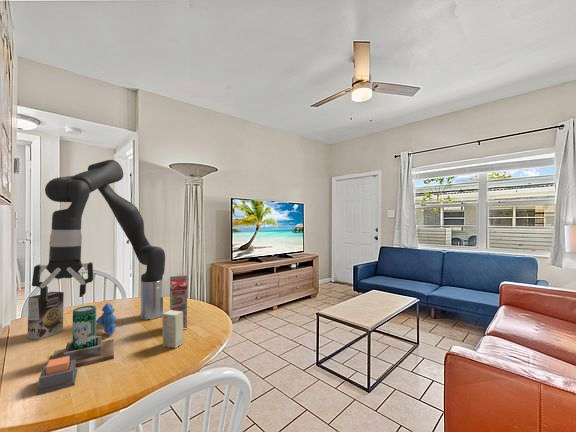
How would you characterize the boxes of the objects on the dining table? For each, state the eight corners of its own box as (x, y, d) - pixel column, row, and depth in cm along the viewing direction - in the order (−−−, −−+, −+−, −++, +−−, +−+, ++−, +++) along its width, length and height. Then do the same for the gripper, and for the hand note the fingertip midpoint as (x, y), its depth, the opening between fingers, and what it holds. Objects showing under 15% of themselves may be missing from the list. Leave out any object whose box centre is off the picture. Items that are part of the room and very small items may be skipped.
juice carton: (169, 325, 120) (170, 275, 120) (185, 323, 122) (186, 274, 122) (169, 331, 114) (170, 278, 114) (186, 329, 116) (187, 277, 116)
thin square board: (113, 342, 103) (113, 331, 103) (113, 358, 92) (113, 346, 92) (54, 354, 94) (54, 342, 94) (46, 374, 82) (47, 360, 82)
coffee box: (40, 340, 105) (40, 298, 105) (26, 338, 106) (27, 297, 106) (64, 330, 113) (64, 291, 113) (51, 329, 115) (51, 290, 115)
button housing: (77, 371, 84) (77, 358, 84) (74, 385, 77) (74, 370, 77) (42, 379, 80) (42, 366, 80) (36, 394, 73) (36, 379, 73)
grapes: (92, 332, 112) (92, 303, 112) (111, 327, 117) (111, 299, 117) (99, 341, 104) (99, 309, 104) (119, 336, 109) (119, 305, 109)
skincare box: (183, 343, 103) (184, 311, 103) (175, 349, 99) (175, 315, 99) (170, 341, 105) (170, 309, 105) (161, 346, 101) (161, 313, 101)
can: (70, 358, 89) (70, 312, 89) (76, 350, 95) (76, 306, 95) (92, 355, 91) (93, 310, 92) (97, 347, 97) (97, 304, 97)
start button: (69, 365, 82) (69, 355, 82) (67, 373, 78) (67, 362, 78) (49, 370, 79) (49, 360, 79) (46, 378, 75) (46, 367, 75)
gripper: (95, 243, 90) (93, 292, 90) (38, 244, 83) (35, 298, 83) (93, 245, 84) (91, 298, 84) (31, 246, 77) (28, 304, 76)
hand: (63, 298), depth 83 cm, fingers open, 8 cm apart
